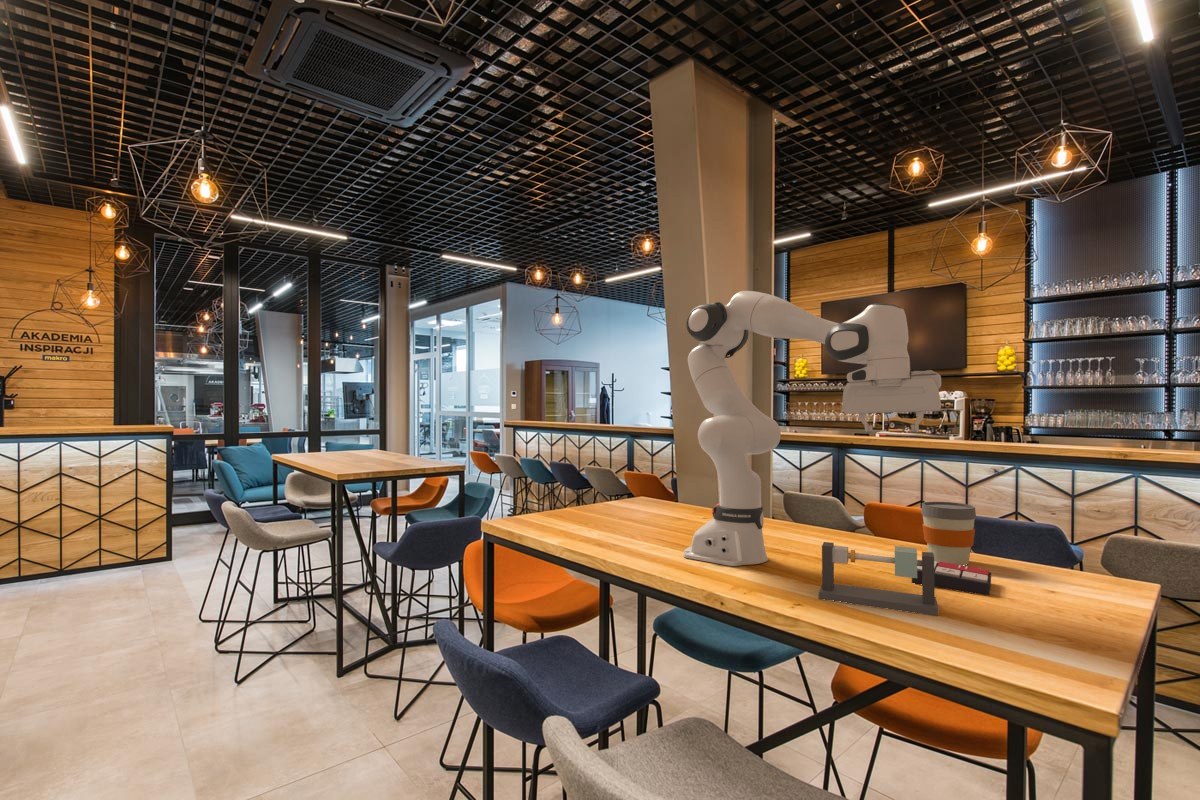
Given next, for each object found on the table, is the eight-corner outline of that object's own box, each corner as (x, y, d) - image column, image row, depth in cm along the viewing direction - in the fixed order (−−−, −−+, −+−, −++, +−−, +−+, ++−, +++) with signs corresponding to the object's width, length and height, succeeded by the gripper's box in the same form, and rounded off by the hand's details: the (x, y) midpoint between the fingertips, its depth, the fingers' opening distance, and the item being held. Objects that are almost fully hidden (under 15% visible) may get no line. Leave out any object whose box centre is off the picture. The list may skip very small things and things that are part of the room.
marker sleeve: (894, 575, 117) (894, 551, 117) (895, 569, 121) (894, 545, 121) (917, 578, 115) (917, 553, 115) (916, 572, 119) (916, 548, 119)
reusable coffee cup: (975, 559, 154) (974, 503, 154) (978, 570, 143) (977, 510, 144) (922, 553, 161) (921, 500, 161) (921, 563, 150) (920, 506, 150)
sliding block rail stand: (818, 599, 122) (818, 547, 122) (823, 588, 129) (822, 539, 129) (938, 616, 112) (937, 559, 112) (935, 603, 119) (935, 550, 119)
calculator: (990, 580, 124) (912, 566, 133) (989, 600, 124) (911, 584, 133) (991, 569, 133) (918, 556, 142) (990, 587, 133) (917, 573, 142)
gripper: (941, 370, 129) (944, 431, 129) (844, 376, 140) (846, 432, 140) (940, 368, 124) (943, 432, 123) (839, 374, 135) (842, 433, 134)
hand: (891, 432), depth 132 cm, fingers open, 8 cm apart
